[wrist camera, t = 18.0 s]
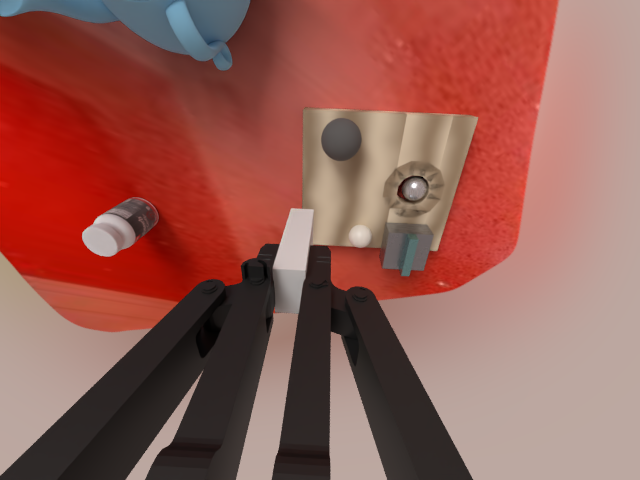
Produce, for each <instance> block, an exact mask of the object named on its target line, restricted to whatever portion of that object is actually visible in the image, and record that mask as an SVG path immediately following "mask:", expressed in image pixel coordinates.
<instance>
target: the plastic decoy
mask: <svg viewBox="0 0 640 480" xmlns="http://www.w3.org/2000/svg"><path fill="white" fill-rule="evenodd" d="M371 239H372V233H371V231H370V229H369V228H368V227H366V226H364V225H356V226H354V227H353V228H352V229H351V230H350V232H349V241H350V242H351V244H352V245H353V246H355V247H358V248H363V247H366V246H367V245H368V244H369V243H370V242H371Z"/></svg>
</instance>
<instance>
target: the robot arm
mask: <svg viewBox="0 0 640 480" xmlns="http://www.w3.org/2000/svg"><path fill="white" fill-rule="evenodd" d="M313 223H314V209H294V208H291V210H290V213H289V217H288V220H287V223H286V226H285V230H284V233H283V236H282V239H281V243H280V244H265V245H264V246H263V247H262V248H261V249H260V251H259V254H258V256H257V258H253V259H249V260H247V261H245V262H243V264H242V265H241V270H242V278H243V280H242V282H241V283H239V284H235V285H229V286H225V284H224V283H223V282H222V281H220V280H217V279H211V280H206V281H203V282H201V283H200V284H198V285H197V286H196V287H195V288H194V289H193V290H192V291H191V292H190V293H189V294H187V295H186V296H185V297H184V298H183V299H182V300H181V301H180V302H179V303H178V304H177V305H176V306H175V307H174V308H173V309H172V310H171V311H170V312H169V313H168V314H167V315H166V316H165V317H164V318H163V319H162V320H161V321H160V322H159V323H158V324H157V325H156V326H154V327H153V328H152V329H151V330H150V331H149V332H148V333H147V334H146V335H145V336H144V337H143V338H142V339H141V340H140V341H139V342H138V343H137V344H136V345H135V346H134V347H133V348H132V349H131V350H130V351H129V352H128V353H127V354H126V355H125V356H124V357H123V358H122V359H120V360H119V362H117V363H116V364H115V365H114V367H112V368H111V369H110V370H109V371H108V372H107V373H106V374H105V375H104V376H103V377H102V378H101V379H100V380H99V381H98V382H97V383H96V384H95V385H94V386H93V387H92V388H91V389H90V390H88V392H86V394H85V395H83V396H82V397H81V398H80V399H79V400H78V401H77V402H76V403H75V404H74V405H73V406H72V407H71V408H70V409H69V410H68V411H67V412H66V413H65V414H64V415H63V416H62V417H61V418H60V419H59V420H58V421H57V422H55V423H54V425H52V426H51V427H50V428H49V429H48V430H47V431H46V432H45V433H44V434H43V435H42V436H41V437H40V438H39V439H38V440H37V441H36V442H35V443H34V444H33V445H32V446H31V447H30V448H29V449H28V450H27V451H26V452H25V453H24V454H23V455H22V456H21V457H19V458H18V459H17V460H16V461H15V462H14V463H13V464H12V465H11V466H10V467H9V468H8V469H7V470H6V471H5V472H4V473H3V474H2V475H1V476H0V480H125V479H126V478H127V477H128V475H129V474H130V472H131V471H132V469H133V468H134V467H135V465H136V464H137V462H138V461H139V460H140V458H141V457H142V455H143V454H144V453H145V451H146V450H147V448H148V447H149V446H150V444H151V443H152V441H153V440H154V438H155V437H156V436H157V434H158V433H159V432H160V430H161V429H162V427H163V426H164V424H165V423H166V422H167V420H168V419H169V417H170V416H171V415H172V413H173V412H174V410H175V409H176V408H177V406H178V405H179V403H180V402H181V401H182V399H183V398H184V396H185V395H186V393H187V392H188V391H189V389H190V388H191V386H192V385H193V384H194V382H195V381H196V379H197V378H198V376H199V375H200V374H201V372H202V371H203V373H202V375H201V377H200V379H199V382H198V384H197V387H196V389H195V391H194V393H193V396H192V398H191V400H190V403H189V405H188V407H187V410H186V412H185V414H184V416H183V419H182V421H181V423H180V426H179V428H178V430H177V433H176V435H175V437H174V439H173V441H172V443H171V444H170V445H169V446H167V447H165V448H164V449H162V450H161V451H160V453H159V454H158V455H157V457H156V458H155V460H154V462H153V464H152V466H151V468H150V470H149V472H148V474H147V477H146V479H145V480H236V476H237V472H238V468H239V464H240V459H241V455H242V451H243V447H244V442H245V438H246V434H247V430H248V425H249V421H250V417H251V413H252V408H253V404H254V400H255V396H256V392H257V388H258V383H259V379H260V375H261V371H262V366H263V362H264V358H265V354H266V350H267V345H268V341H269V337H270V332H271V328H272V324H273V311H274V307H275V312H278V313H296V314H299V315H298V322H297V328H296V336H295V342H294V349H293V357H292V363H291V369H290V376H289V384H288V391H287V397H286V404H285V411H284V418H283V424H282V431H281V438H280V445H279V450H278V453H277V455H276V459H275V464H274V469H273V476H272V480H330V456H329V437H330V436H329V433H330V342H331V341H330V340H331V332H334V333H337V334H340V335H341V338H342V341H343V344H344V347H345V350H346V354H347V356H348V360H349V363H350V366H351V369H352V372H353V375H354V378H355V381H356V384H357V388H358V391H359V394H360V397H361V400H362V403H363V406H364V409H365V412H366V415H367V418H368V422H369V424H370V428H371V431H372V434H373V437H374V440H375V443H376V446H377V449H378V452H379V455H380V458H381V461H382V465H383V468H384V471H385V474H386V477H387V480H473V479H472V477H471V475H470V473H469V471H468V469H467V467H466V466H465V464H464V462H463V460H462V458H461V456H460V454H459V452H458V451H457V449H456V447H455V445H454V443H453V441H452V439H451V437H450V436H449V434H448V432H447V430H446V428H445V426H444V425H443V423H442V421H441V419H440V417H439V415H438V413H437V411H436V409H435V407H434V406H433V404H432V402H431V400H430V398H429V396H428V394H427V392H426V391H425V389H424V387H423V385H422V383H421V381H420V379H419V377H418V376H417V374H416V372H415V370H414V368H413V366H412V365H411V362H410V361H409V359H408V357H407V355H406V353H405V351H404V349H403V347H402V346H401V344H400V342H399V340H398V338H397V336H396V334H395V333H394V331H393V329H392V327H391V325H390V323H389V321H388V319H387V318H386V316H385V314H384V312H383V310H382V308H381V306H380V304H379V302H378V301H377V299H376V297H375V295H374V294H373V292H372V291H370V290H369V289H367V288H364V287H352V288H350V289H349V290H347V291H344V290H341V289H338V288H337V287H335V286H334V285H333V284H332V282H331V251H330V249H329V248H328V247H327V246H313Z"/></svg>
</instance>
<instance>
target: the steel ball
mask: <svg viewBox="0 0 640 480" xmlns="http://www.w3.org/2000/svg"><path fill="white" fill-rule="evenodd" d="M426 191H427V184H426V182H425V181H424V180H423V179H422V178H420V177H417V176H413V177H410V178H408V179H406V180H405V181H404V183H403V185H402V193H403V195H404V197H405V198H407V199H408V200H412V201H416V200H419V199H421V198H422V197H423V196H424V195H425V194H426Z"/></svg>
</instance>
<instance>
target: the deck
mask: <svg viewBox="0 0 640 480" xmlns="http://www.w3.org/2000/svg"><path fill="white" fill-rule="evenodd" d="M337 118H346V119H349V120H351V121H353V122H354V123H355V124H356V125H357V126H358V127H359V129H360V132H361V137H362V142H361V146H360V149H359V150H358V152H357V153H356V155H355V156H353V157H352V158H350V159H348V160H345V161H336V160H333V159H331V158H330V157H329V156H327V155H326V153H325V152H324V150H323V148H322V144H321V136H322V132H323V130H324V128H325V127H326V125H327V124H328V123H329V122H331V121H332V120H334V119H337ZM477 120H478V117H475V116H471V115H458V114H437V113H415V112H394V111H372V110H351V109H330V108H308V107H305V108H304V109H303V193H302V209H314V223H313V244H315V245H334V246H352V247H355V246H353V245H352V244H351V242H350V241H349V232H350V230H351V229H352V228H353V227H354V226H356V225H364V226H366V227H368V228H369V229H370V231H371V233H372V239H371V242H370V243H369V244H368V245H367V246H366V247H371V248H381V244H382V239H383V233H384V228H385V222H388V223H407V224H426V225H428V226H429V228H430V230H431V231H432V233H433V234H434V236H433V240H432V243H431V247H430V250H429V251H437V250H438V247H439V243H440V240H441V237H442V234H443V230H444V227H445V224H446V221H447V217H448V214H449V211H450V208H451V205H452V201H453V198H454V195H455V192H456V188H457V185H458V182H459V179H460V175H461V172H462V169H463V166H464V162H465V159H466V156H467V153H468V149H469V146H470V143H471V140H472V136H473V133H474V130H475V127H476V124H477ZM412 175H414V176H422V177H423V178H424V181H425V182H426V184H427V191H426V194H425V195H424V196H423V197H422V198H421V199H419V200H416V201H412V200H408V199H402V198H401V197H399V196H398V195H397V191H398V186H399V185H400V183H401V182H402V181H403V180H404V179H406V178H408V177H410V176H412Z"/></svg>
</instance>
